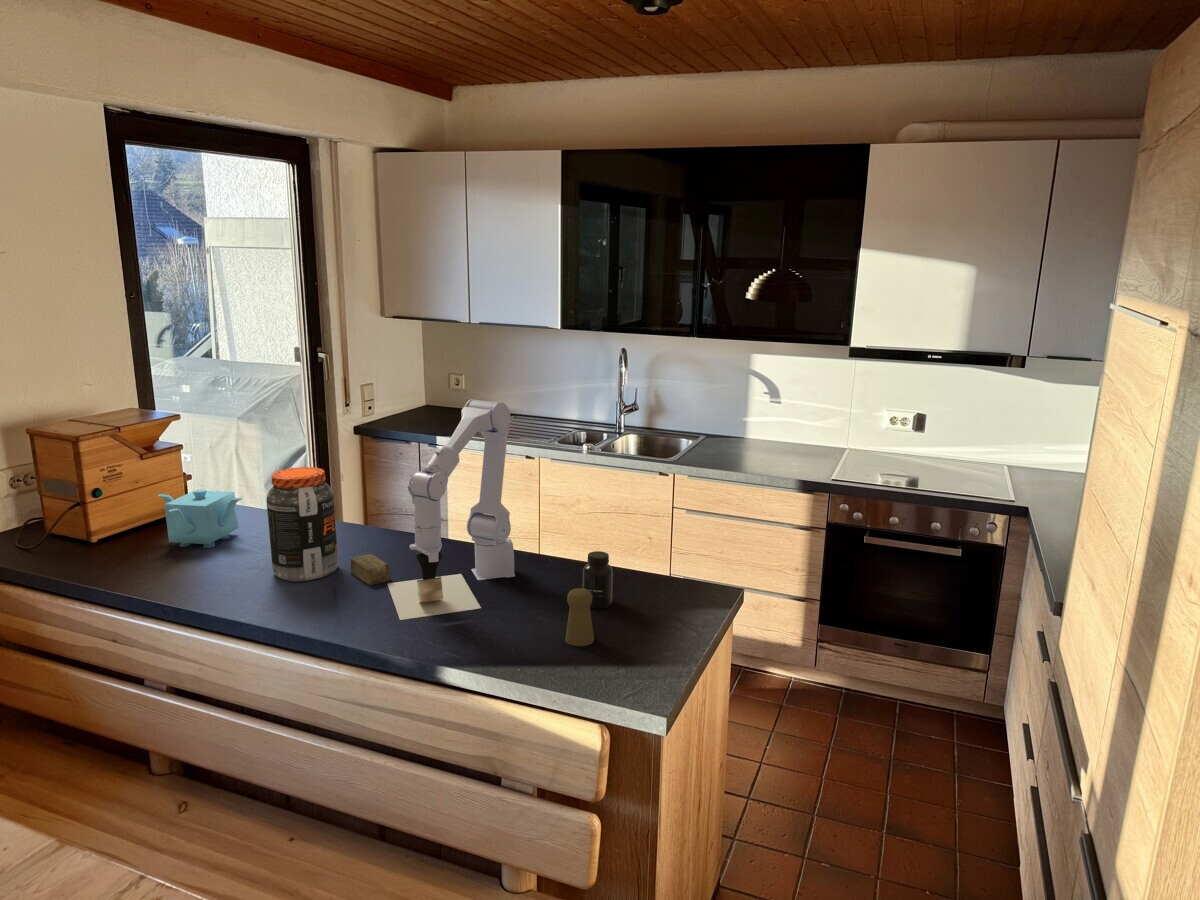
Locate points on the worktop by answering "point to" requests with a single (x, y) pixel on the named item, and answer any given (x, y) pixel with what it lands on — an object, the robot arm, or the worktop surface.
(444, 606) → the mat
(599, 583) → the supplement bottle
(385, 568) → the stone block
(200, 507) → the teakettle
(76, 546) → the worktop surface
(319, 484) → the supplement tub
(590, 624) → the wooden peg doll
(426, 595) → the cube
